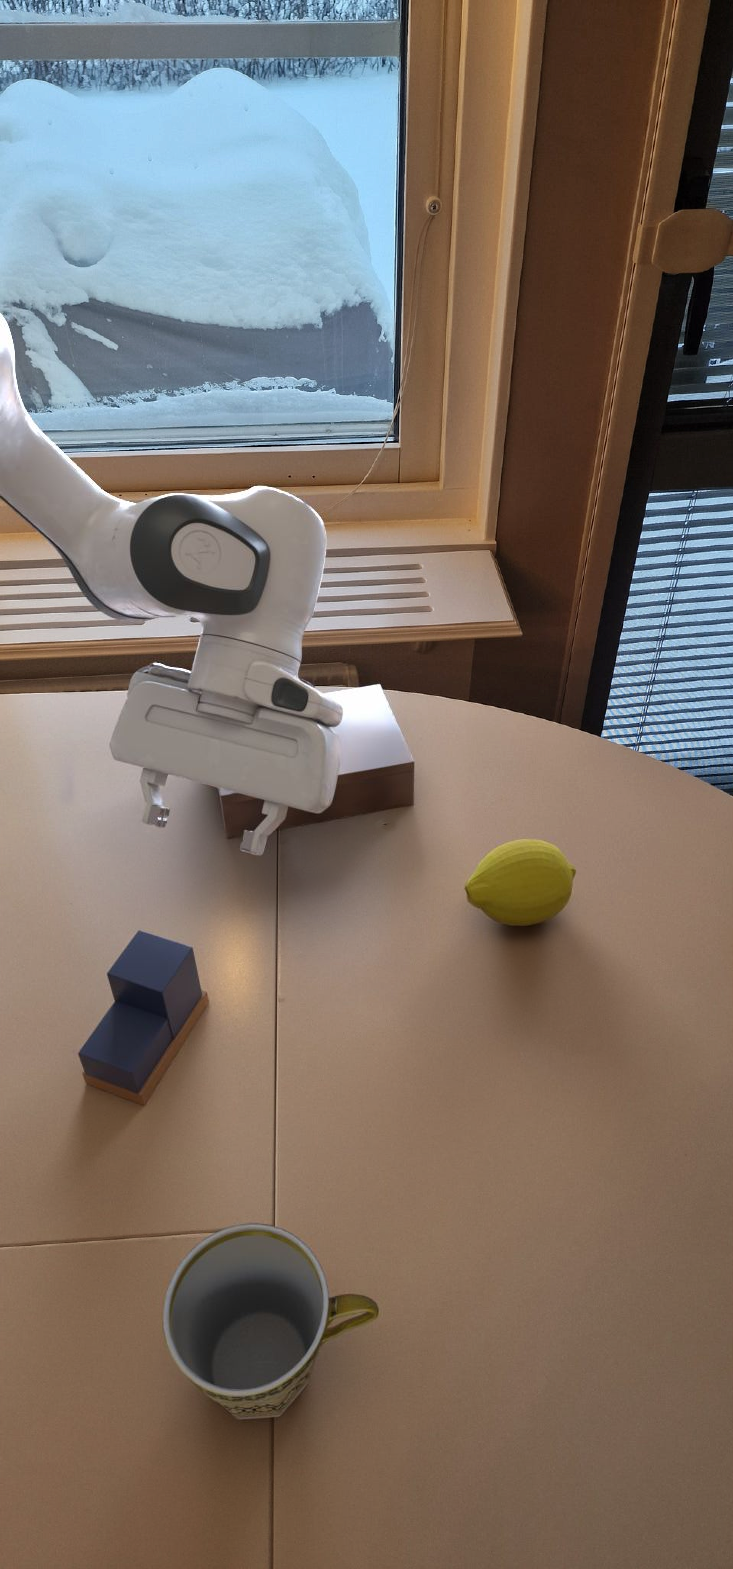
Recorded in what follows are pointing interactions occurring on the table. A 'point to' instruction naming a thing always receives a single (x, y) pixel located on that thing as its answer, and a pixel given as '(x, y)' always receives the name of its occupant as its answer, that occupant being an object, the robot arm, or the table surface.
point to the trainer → (144, 1017)
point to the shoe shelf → (346, 768)
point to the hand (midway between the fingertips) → (201, 839)
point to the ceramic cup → (253, 1317)
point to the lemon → (521, 882)
